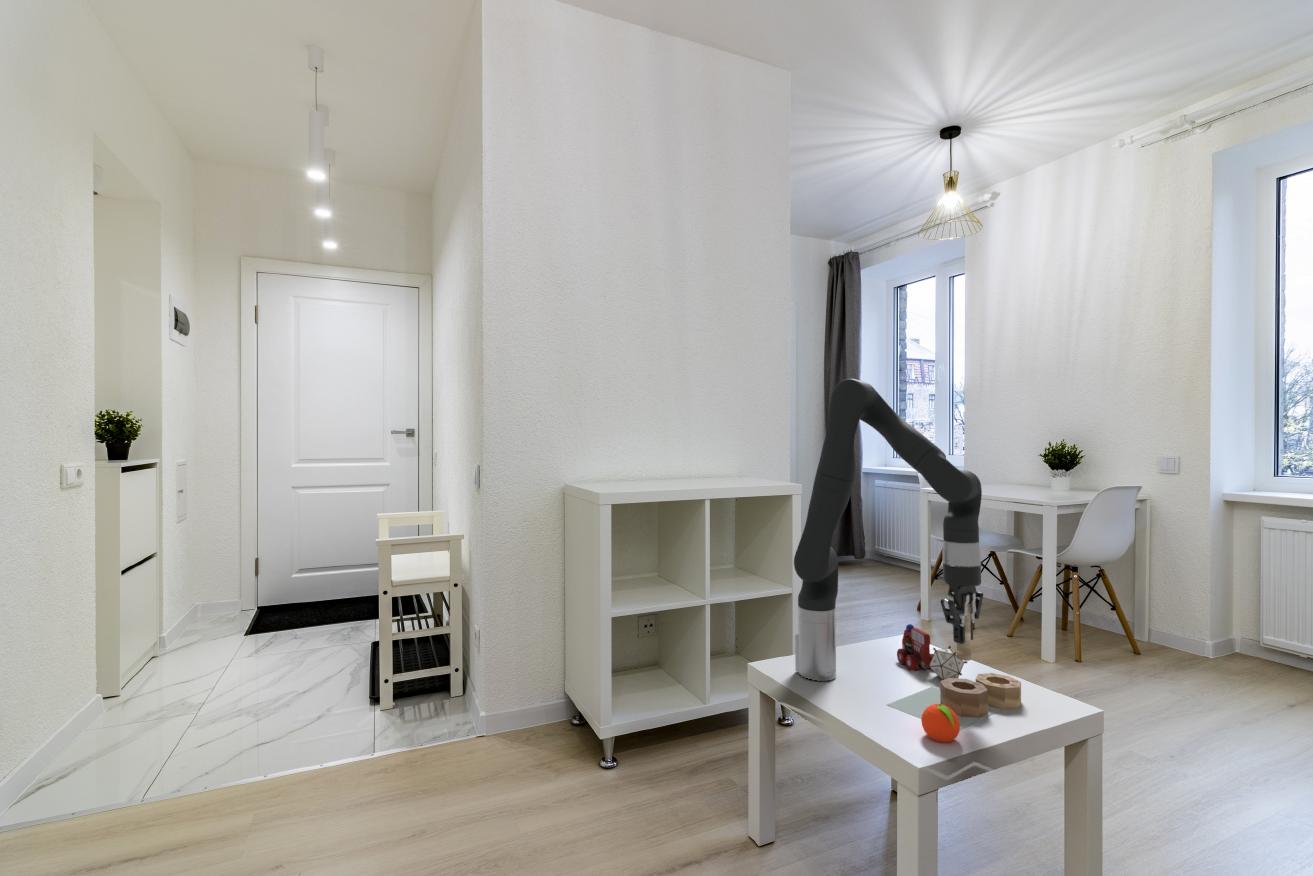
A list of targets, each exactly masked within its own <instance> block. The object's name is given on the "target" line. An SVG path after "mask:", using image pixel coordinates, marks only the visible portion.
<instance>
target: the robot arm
mask: <svg viewBox="0 0 1313 876" xmlns="http://www.w3.org/2000/svg"><path fill="white" fill-rule="evenodd" d="M827 415H828V416H827V417H828V418H827V425H826V431H825V437H824V439H823V444H822V447H821V452H820V456H819V461H818V465H817V469H816V473H815V477H814V479H813V480H814V481H813V486H812V489H811V490H812V492H811V496H810V500H809V503H808V510H807V514H806V515H807V516H806V521H805V524H804V527H803V531H802V535H801V537H800V540H799V542H798V545H797V548H796V550H795V554H794V557H793V558H794V559H793V566H794V571H795V573H796V575H797V576H798V577H799V578H800V579H801V580H802V585H801V589H800V591H799V593H798V595H797V612H798V613H797V621H798V622H797V623H798V624H797V627H798V631H797V633H796V634H795V636H794V638H795V639H794V640H795V642H794V643H795V649H794V650H795V672H796V671H797V672H796V673H798V672H799V673H798V675H799V674H800V675H801V676H800V675H799V676H800V677H802V676H803V677H805V678H804V679H806V678H808V679H807V680H809V679H812V680H811V681H814V680H817V681H816V682H827V681H828V680H829V681H832V680H834V679H835V677H837V638H836V637H837V635H836V634H837V632H836V630H837V624H836V623H837V622H836V621H837V619H836V617H837V616H836V613H837V611H836V608H837V607H836V605H837V604H836V601H837V598H838V593H839V592H838V591H839V590H838V589H839V559H838V555H837V553H836V551H835V549H834V547H832V541H833V538H834V535H835V531H836V529H837V526H838V524H839V522H840V520H841V518H842V516H843V514H844V512H845V510H846V508H847V506H848V504H849V501H850V497H851V494H852V491H853V486H854V482H855V479H856V469H857V467H856V463H857V462H856V454H855V437H856V433H857V429H858V425H859V423H860V421H862V422H864V423H865V424H867V425H869V426H870V427H871V428H872V429H874V430H875V431H876V432H878V433H879V434H880V435H881V436H882V437H883V438H884V439H885V440H886V442H887V443H888V444H889V446H890V447H891V448H892V450H893V451H894V452H895V453H896V454H897V455H898V456H899V458H901V459H902V460H903V461H904V462H906V463H907V465H909V466H910V467H911V468H912V469H914V470H915V471H916V472H917V473H919V474H920V475H921V476H922V477H923V479H924V480H925V481H926V482H927V483H928V485H929V486H930V487H931V488H932V490H934V492H935V493H936V494H937V495H939V496H940V497H941V498H942V499H944V500H945V501H946V502H948V503H947V504H948V508H947V513H946V514H945V516H944V518H943V522H942V528H943V529H942V535H943V537H942V538H943V542H942V543H943V544H942V581H943V583H944V584H947V586H948V590H947V597H946V598H941V599H940V605H941V610H942V613H943V615H944V618H945V622H946V623H947V624H951V625H952V629H953V630H952V634H953V637H952V638H953V642H954V643H955V644H957V643H960V644H963V643H965V626H964V624H965V616H966V615H967V612H968V604H970V623H971V641H973V640H974V623H975V622H976V620H979V618H980V614H981V609H982V604H983V599H984V593H983V592H981V591H977V587H978V586H981V584H982V562H981V561H982V556H981V546H980V530H979V529H980V528H979V527H980V526H979V516H980V511H981V504H982V493H983V491H982V484H981V481H980V479H979V477H978V476H977V475H976V473H974V472H972V471H970V470H967V469H966V470H965V469H964V470H963V469H961V470H960V469H959V468H958V467H956V466H955V465H953V463H951V461H949V460H948V459H947V456H946V453H944V451H943V450H941V448H939V447H938V446H937V445H936V444H934V442H932V441H931V440H930V439H928V438H927V437H926V436H924V435H923V434H922V433H921V432H919V431H918V430H917V429H916V428H914V427H913V426H912V425H910V424H909V423H908V422H907V421H906V420H905V419H903V418H902V417H901V416H900V415H899V414H898V413H897V412H896V411H895V410H894V409H893V408H892V407H891V406H890V405H889V403H887V401H886V400H885V399H884V398H883V397H882V396H881V394H880V393H879V392H878V390H877V389H875V387H874V386H872V385H871V383H868V382H867V381H863V380H859V379H855V378H846V379H842V380H841V381H839V382H838V383H836V385H835V386H834V388H833V391H832V392H831V396H830V401H829V408H828V414H827ZM956 609H960V610H962V611H958V610H956ZM958 615H960V620H959V616H958ZM803 677H802V678H803Z"/></svg>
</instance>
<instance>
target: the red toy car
mask: <svg viewBox="0 0 1313 876" xmlns="http://www.w3.org/2000/svg"><path fill="white" fill-rule="evenodd" d="M905 626H906V627H905V629H904V632H903V636H902V639H901V648H898V649H897V650H896V651H897V652H896V657H897V660H898V662H899V664H900V665H906V669H907V670H908V671H909V672H912V671H918V669H919V668H923V669H929V670H932V669H931V668H930V667H928V668H926V666H929V664H930V662H931V659H932V657H933V656H932V654H933V653H931V649H930V648H931V647H930V645H931V636H930V635H929V633H927V632H925V631H923V630H921V629H920V628H917V627H914V625H913V624H909V623H908V624H907V625H905Z"/></svg>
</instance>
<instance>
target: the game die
mask: <svg viewBox="0 0 1313 876" xmlns="http://www.w3.org/2000/svg"><path fill="white" fill-rule="evenodd" d="M951 647H952V646H951V645H949V646H948V648H944V649H943V648H942V649H936V647H932V650H933V651H934V653H931V654H932V656H933V657H932V659H931V662H930V664H929V666H926V668H925V669H930V668H931V669H930V670H931V671H933V672H934V673H935V675H937V676H938V677H939V679H941V681H942V680H945V679H948V678H959V677H960V676H963V674H962V669H963V667H964V664H968V661H964V660H960V659H958V658H957V651H953V650H952V649H951ZM928 667H930V668H928Z"/></svg>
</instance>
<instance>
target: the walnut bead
mask: <svg viewBox="0 0 1313 876" xmlns="http://www.w3.org/2000/svg"><path fill="white" fill-rule="evenodd" d="M939 686H940V688H939V689H940V700H941V704H942V705H945V706H947V707H949V708H950V709H952V710H953V711H954V712H955V714H956V715H958V716H961V717H975V718H980V717H982V716H984V715H986V714H988V706H989V705H988V690H987V689H986V688H985V687H984V685H983V684H981V683H978V682H976V680H975V681H974V680H971V679H967V678H959V677H958V678H948V679H945V680H942V679H941V680H940V685H939Z"/></svg>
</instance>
